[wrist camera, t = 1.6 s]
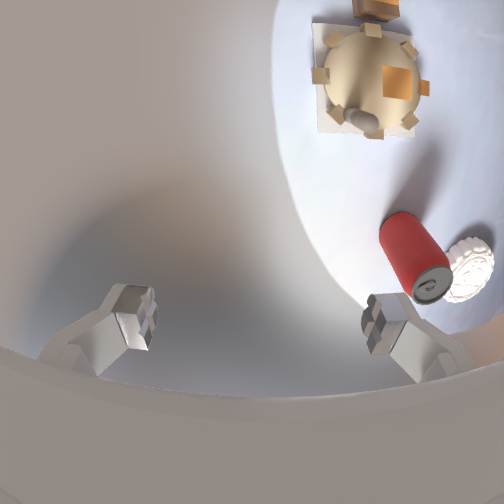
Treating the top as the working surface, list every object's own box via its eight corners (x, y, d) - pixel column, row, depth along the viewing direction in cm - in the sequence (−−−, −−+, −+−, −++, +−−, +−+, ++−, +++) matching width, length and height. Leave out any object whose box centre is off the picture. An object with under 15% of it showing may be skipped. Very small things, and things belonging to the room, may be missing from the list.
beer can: (378, 212, 35) (413, 267, 25) (420, 208, 34) (463, 258, 24) (376, 253, 38) (403, 313, 28) (415, 248, 37) (449, 303, 27)
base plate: (410, 37, 21) (413, 36, 20) (410, 136, 28) (414, 138, 28) (311, 24, 22) (312, 22, 22) (317, 131, 30) (319, 132, 29)
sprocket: (419, 36, 20) (456, 30, 13) (419, 140, 27) (454, 159, 21) (307, 21, 21) (318, 2, 15) (314, 134, 28) (326, 150, 22)
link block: (382, -6, 19) (396, -14, 15) (386, 22, 21) (400, 16, 17) (350, -11, 19) (359, -22, 15) (353, 17, 21) (364, 9, 18)
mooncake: (495, 240, 35) (506, 251, 32) (468, 292, 42) (476, 305, 39) (451, 231, 35) (462, 243, 32) (423, 290, 42) (431, 305, 39)
